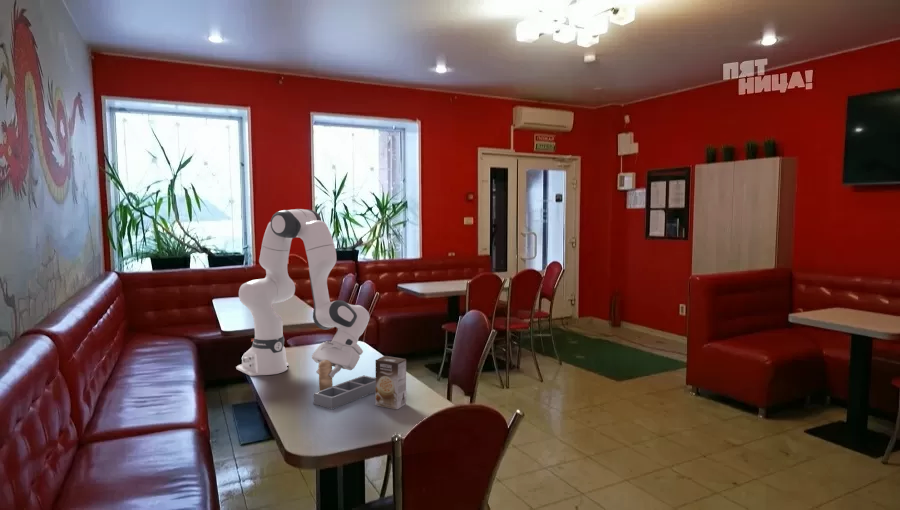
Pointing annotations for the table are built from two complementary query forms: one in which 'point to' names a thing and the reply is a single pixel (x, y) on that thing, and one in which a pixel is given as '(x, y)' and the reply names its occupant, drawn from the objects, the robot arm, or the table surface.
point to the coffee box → (390, 382)
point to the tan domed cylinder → (325, 375)
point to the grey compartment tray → (345, 392)
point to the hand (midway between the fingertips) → (324, 375)
